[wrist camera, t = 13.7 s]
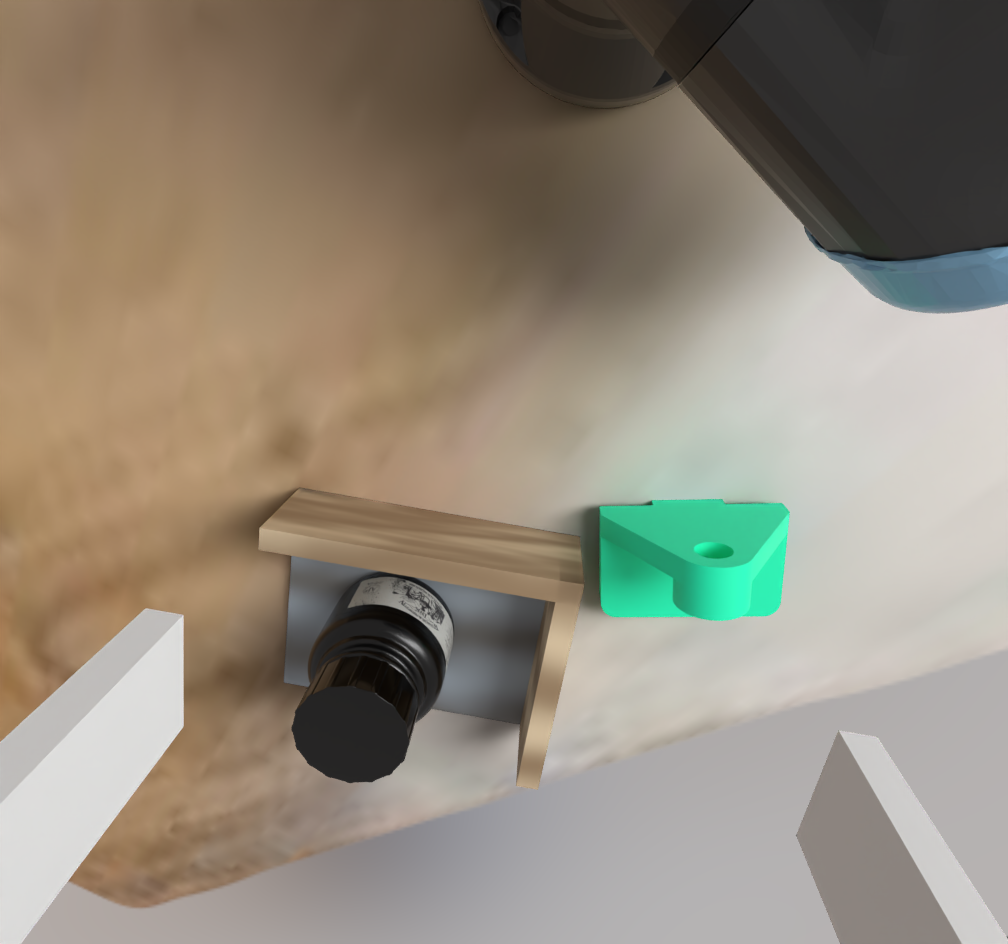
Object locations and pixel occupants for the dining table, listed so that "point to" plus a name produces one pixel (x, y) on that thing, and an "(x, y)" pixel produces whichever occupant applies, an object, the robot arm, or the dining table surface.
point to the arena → (445, 599)
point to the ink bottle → (373, 677)
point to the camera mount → (692, 559)
